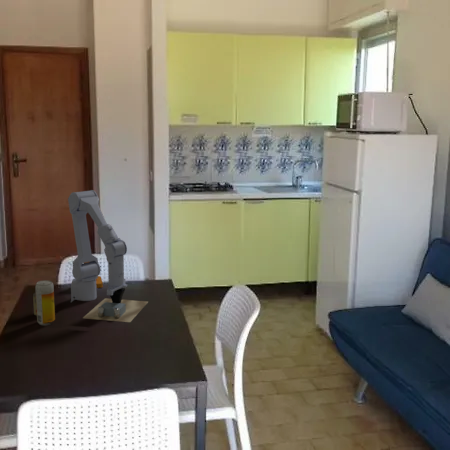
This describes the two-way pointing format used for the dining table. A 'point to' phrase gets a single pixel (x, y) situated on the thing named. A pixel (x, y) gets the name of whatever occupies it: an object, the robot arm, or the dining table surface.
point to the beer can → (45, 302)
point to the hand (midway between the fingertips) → (116, 307)
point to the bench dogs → (116, 312)
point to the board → (128, 316)
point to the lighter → (35, 303)
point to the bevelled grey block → (110, 308)
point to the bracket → (98, 281)
